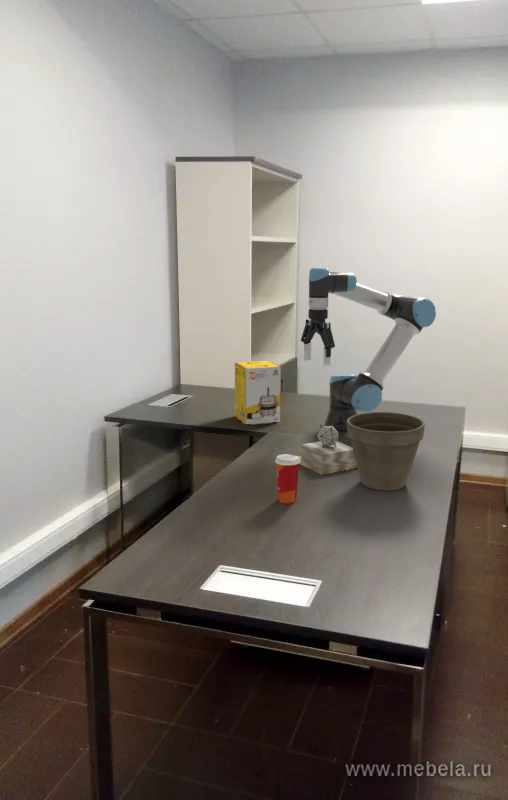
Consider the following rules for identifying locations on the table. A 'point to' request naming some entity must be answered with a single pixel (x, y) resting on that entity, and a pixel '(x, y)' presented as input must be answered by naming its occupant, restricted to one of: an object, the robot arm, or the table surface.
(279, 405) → the packaging box
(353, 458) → the tower base
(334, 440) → the wireframe icosahedron
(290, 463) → the paper cup
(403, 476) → the plant pot
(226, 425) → the table surface
